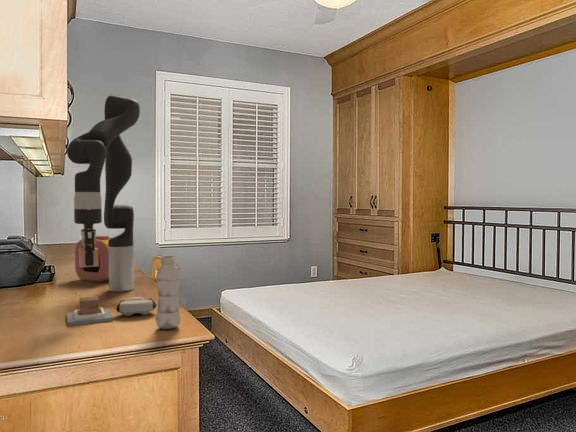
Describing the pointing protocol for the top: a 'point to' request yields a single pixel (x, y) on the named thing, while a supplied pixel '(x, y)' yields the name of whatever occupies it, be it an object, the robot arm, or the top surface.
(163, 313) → the plastic bottle
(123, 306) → the robot toy
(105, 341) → the top surface
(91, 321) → the baseplate
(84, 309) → the walnut cube
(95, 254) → the terracotta cube
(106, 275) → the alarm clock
